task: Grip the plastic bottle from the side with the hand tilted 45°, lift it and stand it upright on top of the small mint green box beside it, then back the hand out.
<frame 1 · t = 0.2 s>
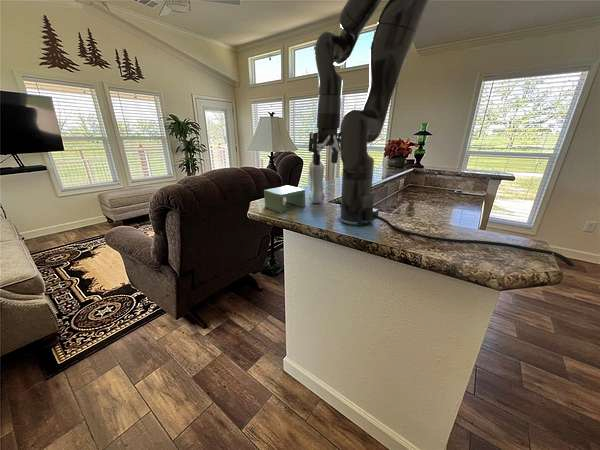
hand: (325, 164, 81), 17 cm above the countertop, tool pointing down, fingers open, 8 cm apart
plastic bottle: (316, 203, 99), on the countertop
mint green box: (285, 206, 95), on the countertop
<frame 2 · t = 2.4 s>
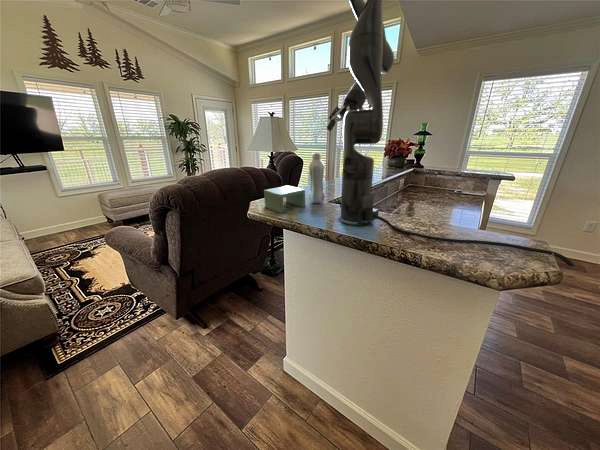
hand: (335, 130, 91), 28 cm above the countertop, tool tilted 40°, fingers open, 8 cm apart
nothing on the countertop moved.
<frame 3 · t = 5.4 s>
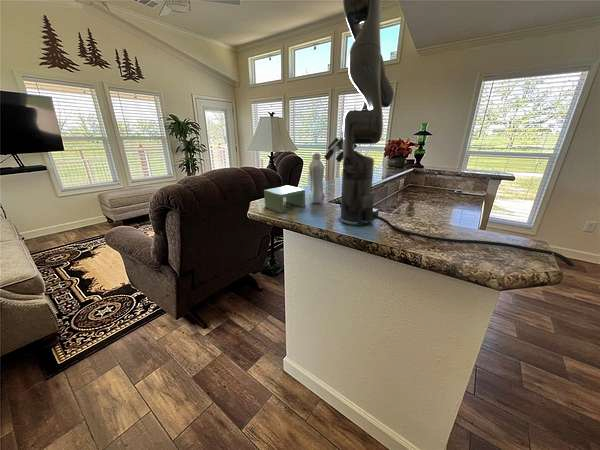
hand: (331, 159, 95), 17 cm above the countertop, tool tilted 45°, fingers open, 8 cm apart
nothing on the countertop moved.
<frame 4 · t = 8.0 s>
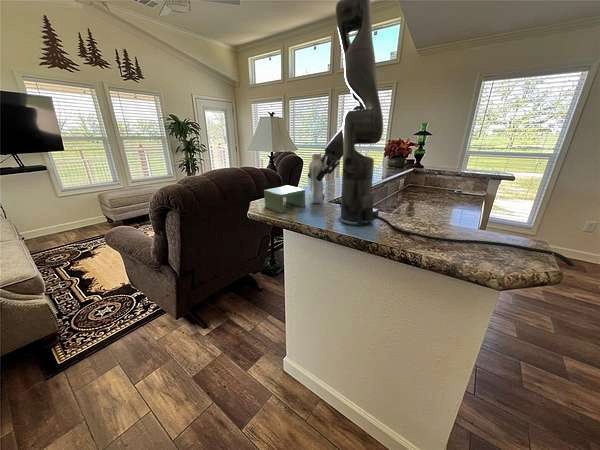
hand: (313, 178, 94), 10 cm above the countertop, tool tilted 45°, fingers closed on plastic bottle, 6 cm apart
plastic bottle: (316, 203, 99), on the countertop, touching gripper
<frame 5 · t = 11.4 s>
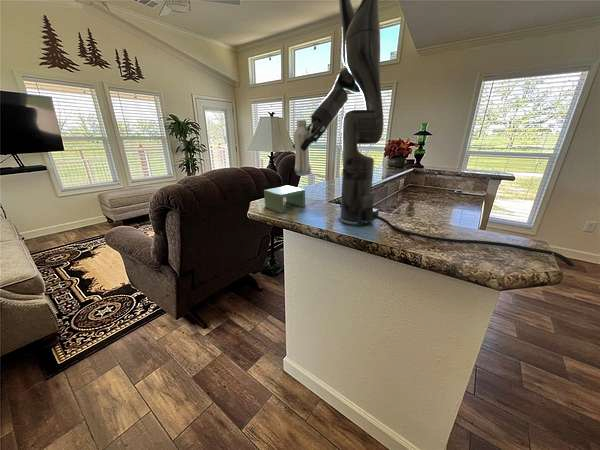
hand: (298, 148, 88), 22 cm above the countertop, tool tilted 45°, fingers closed on plastic bottle, 6 cm apart
plastic bottle: (303, 176, 93), point 12 cm above the countertop, touching gripper
when the fingers open (17 cm above the countertop, at t = 14.6 s): plastic bottle stays where it is, resting on mint green box.
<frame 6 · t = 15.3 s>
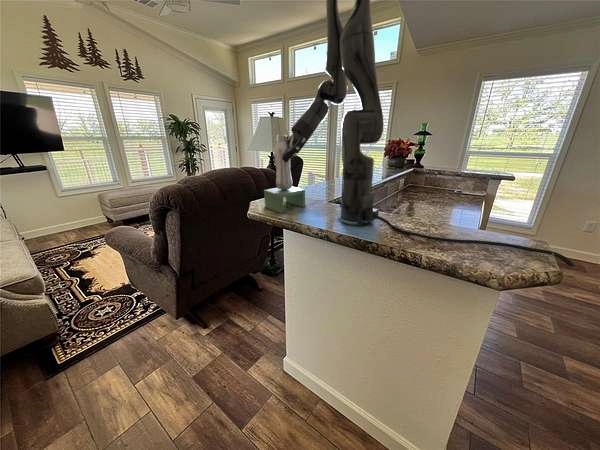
hand: (279, 159, 87), 18 cm above the countertop, tool tilted 45°, fingers open, 8 cm apart
plastic bottle: (284, 190, 92), point 7 cm above the countertop, touching mint green box
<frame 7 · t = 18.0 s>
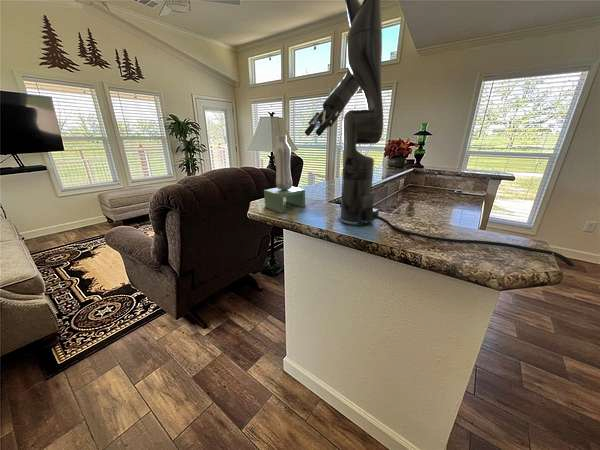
hand: (311, 134, 90), 27 cm above the countertop, tool tilted 45°, fingers open, 8 cm apart
nothing on the countertop moved.
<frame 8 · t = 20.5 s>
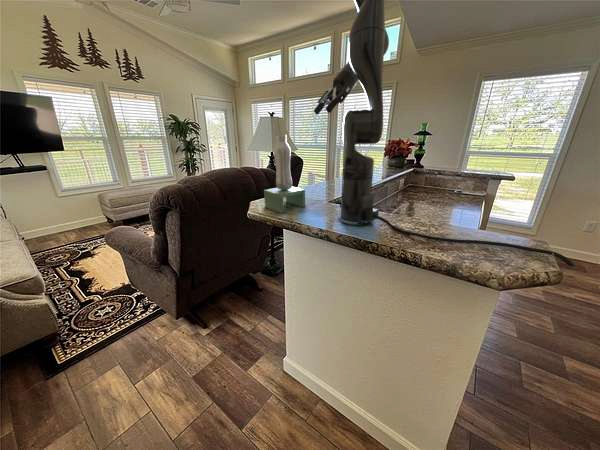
hand: (321, 111, 88), 35 cm above the countertop, tool tilted 45°, fingers open, 8 cm apart
nothing on the countertop moved.
at the end: plastic bottle inside the target area on the mint green box (0.2 cm from its centre), point 6.8 cm above the mint green box's base; plastic bottle tilted 0°; the gripper is holding nothing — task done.
